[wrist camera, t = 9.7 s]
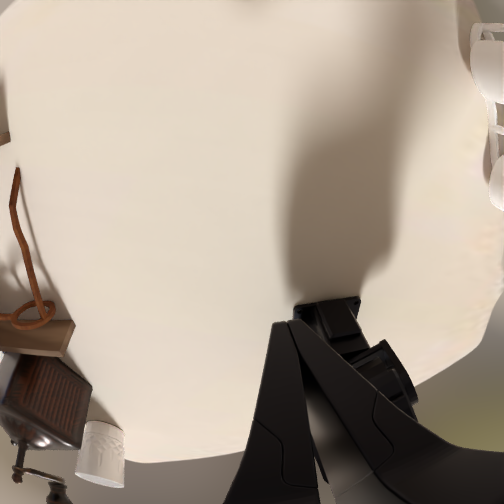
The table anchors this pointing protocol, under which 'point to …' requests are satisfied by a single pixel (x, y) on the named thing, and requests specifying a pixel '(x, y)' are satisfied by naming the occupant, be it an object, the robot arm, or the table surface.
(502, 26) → the toilet paper holder
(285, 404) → the robot arm
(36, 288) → the glasses
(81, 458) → the white cup
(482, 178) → the table surface
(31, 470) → the coffee grinder
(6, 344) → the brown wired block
